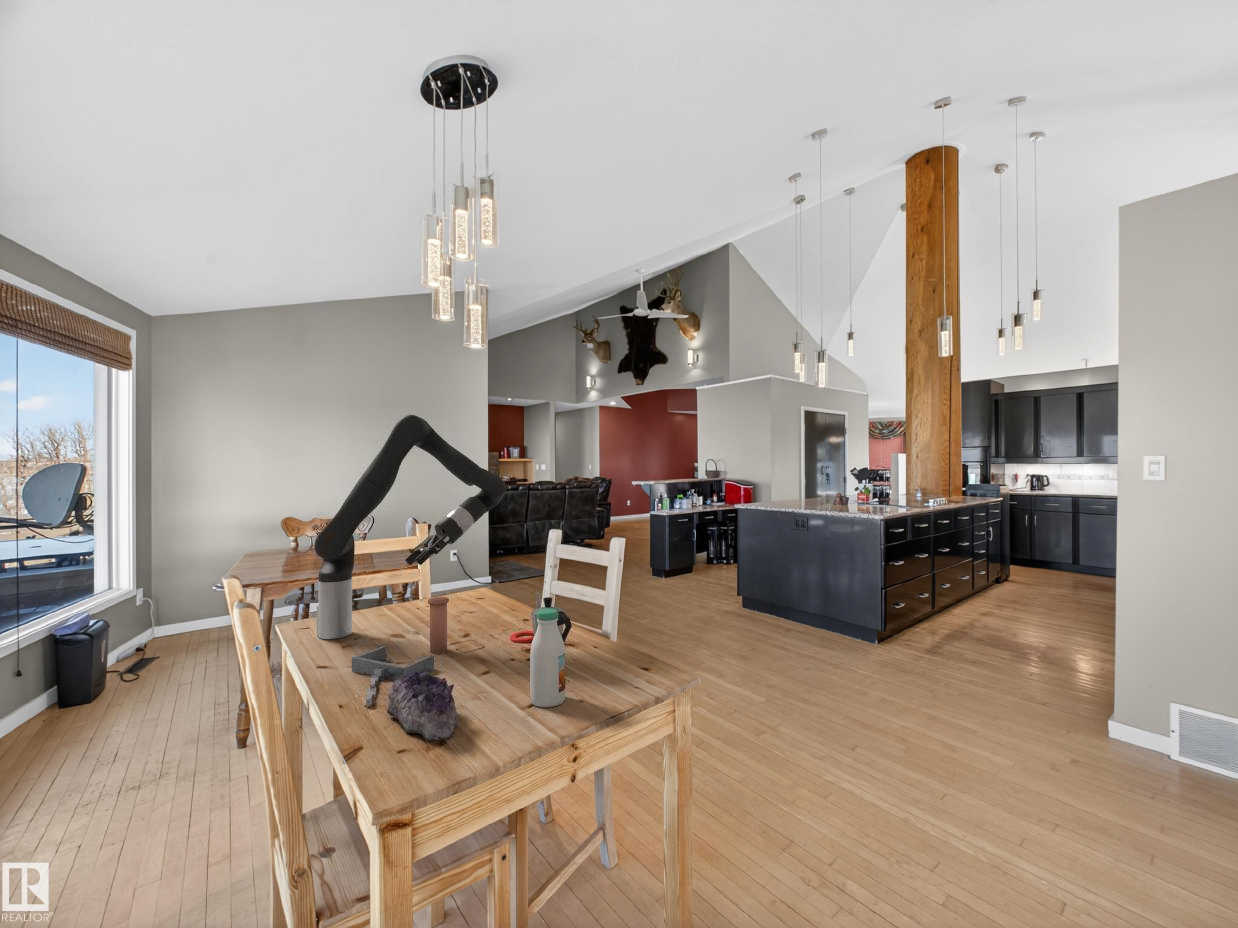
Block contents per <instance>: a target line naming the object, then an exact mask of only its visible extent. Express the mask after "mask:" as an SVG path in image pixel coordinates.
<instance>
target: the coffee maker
mask: <svg viewBox="0 0 1238 928" xmlns="http://www.w3.org/2000/svg"><path fill="white" fill-rule="evenodd" d="M542 599H543V604H544V606H541V608H538V609H537V608H536V609H532V611H530V615H531V616H530V617H531V622H532V628H533V629H532V631H534V635H533V636H535V634H536V631H537V628H538V621H537V612H538V611H539V610H541V609H556V610H557V611H558V621H557V626H558V630H559V632H560V634H561V637H562V639H563V642H564V643H565V642H566V639H567V637H568V635H569V633H570V631H571V629H572V627H573V625H572V621H571V619H570V617H569V616H568V615H567V614H566V611H565V610H564V609H563V608H560V607H555V606H552V602H553V597H552V596H551V597H549V596H547V597H543V598H542Z"/></svg>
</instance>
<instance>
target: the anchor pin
mask: <svg viewBox="0 0 1238 928" xmlns="http://www.w3.org/2000/svg"><path fill="white" fill-rule="evenodd" d="M449 602H450V598H449V597H446V596H437V597H435V596H434V597H431V598H429V599H427V604H429V653H430V654H431V655H440V654H445V653H446V652H448V603H449Z"/></svg>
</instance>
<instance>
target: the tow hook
mask: <svg viewBox="0 0 1238 928" xmlns="http://www.w3.org/2000/svg"><path fill="white" fill-rule="evenodd" d="M535 604H536V609H538V608H542V601H541V597H540V592H536V603H535ZM521 636H529V637H525V638H524V637H523V638H522V637H521ZM530 636H531V637H530ZM519 637H520V638H519ZM533 638H534V631H533V630H525V631H517V632H515V633H512V634H511V635H510V636H509V640H510V641H511V642H513V643H521V644H522V643H529V642H532V641H533Z"/></svg>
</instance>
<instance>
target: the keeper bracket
mask: <svg viewBox="0 0 1238 928" xmlns="http://www.w3.org/2000/svg"><path fill="white" fill-rule="evenodd" d="M386 660H387V646H385V645H383V646H380V647H377V648H375V649H372V650H370V651H366V652H364V653H361V654H358V655H355V656H353V657H351V672H352V673H357V674H362V675H366V676H370V677H371V675H376V676H379V681H384V680H388V681H389V680H390V681H393V682H395V681H397V680H401V679H405V678H406V677H407V676H408V675H410V674H411V673H413V672H414V671H417V672H419V673H420V674H423V673H425V672H427V673H429V672H431V671H433V670H435V654H429V655H428V656H426V657H423V658H421V659H419V660H415V661H413V662H412V663H409V664H407V665H404V666H403V665H398V664H393V663H389V662H385V661H386Z"/></svg>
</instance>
